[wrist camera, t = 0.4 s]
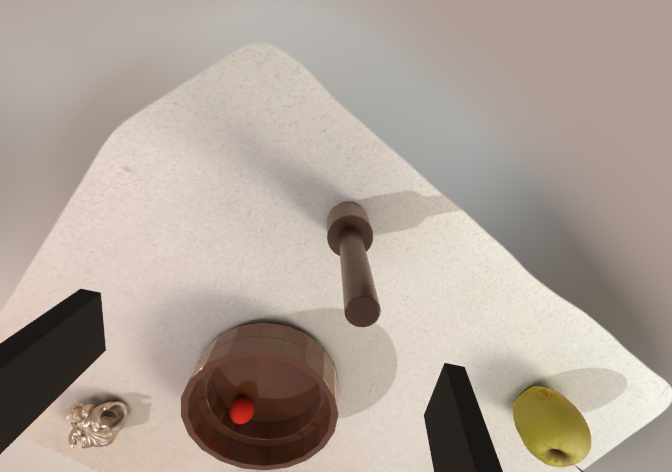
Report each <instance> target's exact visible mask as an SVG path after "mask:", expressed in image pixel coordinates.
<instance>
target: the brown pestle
mask: <svg viewBox="0 0 672 472" xmlns="http://www.w3.org/2000/svg"><path fill="white" fill-rule="evenodd" d="M327 240H328V244H329V246H330V248H331V249H332V251H333V252H334V253H336V254H337V255H339V256H340V259H341V272H342V285H343V298H344V311H345V317H346V319H347V320H348V321H349V322H350V323H351V324H352V325H354V326H357V327H367V326H370V325H372V324H373V323H375V322H376V321H377V320H378V318H379V316H380V312H381V309H380V305H379V301H378V297H377V293H376V289H375V285H374V281H373V278H372V274H371V270H370V266H369V262H368V258H367V254H366V251H367V250H368V249H369V248H370V246H371V244H372V241H373V231H372V228H371V225H370V222H369V220H368V217H367V214H366V212H365V210H364V209H363V208H362V207H361V206H360V205H358V204H356V203H353V202H343V203H340V204H338V205H336V206H335V207H334V208H333V209H332V210H331V211H330V213H329V216H328V221H327Z"/></svg>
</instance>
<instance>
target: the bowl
mask: <svg viewBox="0 0 672 472" xmlns="http://www.w3.org/2000/svg"><path fill="white" fill-rule="evenodd" d="M239 398H247V399H249V400H250V401H251V402H252V403H253V406H254V413H253V416H252V418H251V419H250V420H249V421H248V422H246V423H244V424H237V423H235V422H233V421H232V419H231V418H230V413H229V412H230V407H231V405H232V403H233V402H234V401H235V400H237V399H239ZM181 417H182V420H183V422H184V425H185V427H186V430H187V432H188V434H189V436H190V437H191V438H192V439H193V440H194V441H195V442H196V444H197V445H198V446H199V447H200V448H201V449H202V450H204V451H205V452H207V453H208V454H210V455H212V456H213V457H215V458H216V459H218V460H220V461H222V462H225V463H228V464H231V465H234V466H237V467H240V468H244V469H255V470H272V469H280V468H287V467H290V466H293V465H296V464H298V463H301V462H304V461H306V460H308V459H309V458H311V457H312V456H313V455H315V454H316V453H317V452H319V451H320V450H321V449H323V448H324V447H325V445H326V444H327V442H328V441H329V439H330V438H331V436H332V435H333V434H334V432H335V427H336V423H337V418H338V389H337V377H336V372H335V367H334V363H333V362H332V360H331V358H330V357H329V355H328V354H327V352H326V350H325V349H324V348H323V347H322V346H321V345H320V344H319V343H317V342H316V341H315V340H314V339H313V338H311V337H310V336H309V335H308V334H306V333H303V332H301V331H299V330H296V329H294V328H291V327H289V326H287V325H279V324H271V323H255V324H248V325H241V326H238V327H236V328H234V329H232V330H230V331H227V332H225V333H223V334H221V335H219V336H218V337H217V338H216V339H215V340H214V341H213V342H212V343H211V344H210V345H209V346H208V347H206V349H205V350H204V352H203V354H202V356H201V358H200V360H199V362H198V364H197V366H196V368H195V370H194V372H193V374H192V376H191V378H190V380H189V382H188V384H187V386H186V388H185V390H184V392H183V395H182V397H181Z"/></svg>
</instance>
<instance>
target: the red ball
mask: <svg viewBox="0 0 672 472" xmlns="http://www.w3.org/2000/svg"><path fill="white" fill-rule="evenodd" d="M229 413H230V418H231V419H232V421H233V422H235V423H237V424H244V423H246V422H248V421H249V420H250V419H251V418H252V416H253V413H254V406H253V403H252V402H251V401H250V400H249V399H247V398H239V399H237V400H235V401H234V402H233V403H232V405H231V407H230V412H229Z"/></svg>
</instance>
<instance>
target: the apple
mask: <svg viewBox="0 0 672 472" xmlns="http://www.w3.org/2000/svg"><path fill="white" fill-rule="evenodd" d="M513 416H514V421H515V426H516V428H517V431H518V433H519V435H520V436H521V438H522V440H523V442H524V444H525V446H526V447H527V449H528V450H529V451H530V452H531V453H532V454H533V455H534V456H535V457H536V458H538V459H539V460H541V461H542V462H544V463H545V464H547V465H550V466H553V467H567V466H570V465H574V464H576V463H579V462H580V461H582V460H583V459H584V458H585V457H586V456H587V455H588V453H589V451H590V448H591V435H590V430H589V428H588V425H587V423H586V421H585V419H584V417H583V416H582V415H581V413H580V412H579V411H578V410H577V408H576V407H575V406H574V405H573V404H572V403H571V402H570V401H569V400H567V399H566V398H565V397H564V396H563V395H561V394H560V393H558V392H556V391H554V390H552V389H549V388H546V387H541V386H532V387H530V388H529V389H527V390H526V391H525V392H523V393H522V394H521V395H520V396H519V397H518V398H517V399H516V400H515V401H514V403H513ZM575 466H576V465H575ZM576 467H577V466H576ZM577 468H578V467H577ZM578 469H579V468H578ZM579 470H580V471H581V472H583V471H582V470H581V469H579Z"/></svg>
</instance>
